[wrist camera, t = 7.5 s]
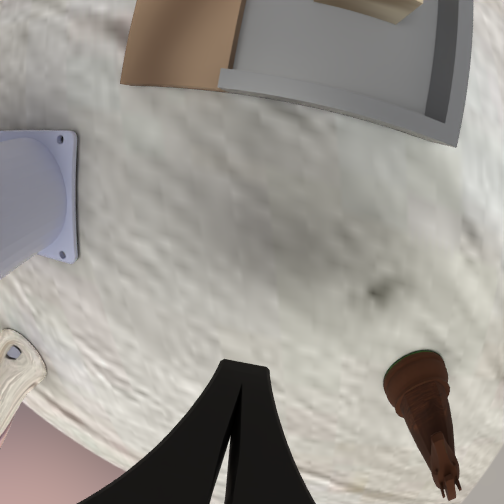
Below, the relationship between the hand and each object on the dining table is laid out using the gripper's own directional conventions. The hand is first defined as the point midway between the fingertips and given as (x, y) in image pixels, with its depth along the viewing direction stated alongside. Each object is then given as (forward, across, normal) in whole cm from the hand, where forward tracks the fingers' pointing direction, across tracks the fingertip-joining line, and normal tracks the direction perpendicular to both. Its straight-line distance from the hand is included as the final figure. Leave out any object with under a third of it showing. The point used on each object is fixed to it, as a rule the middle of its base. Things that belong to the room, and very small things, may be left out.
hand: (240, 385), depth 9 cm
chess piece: (+9, -12, +6) cm, 16 cm away
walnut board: (+8, +5, -16) cm, 19 cm away
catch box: (+8, -2, -16) cm, 18 cm away
